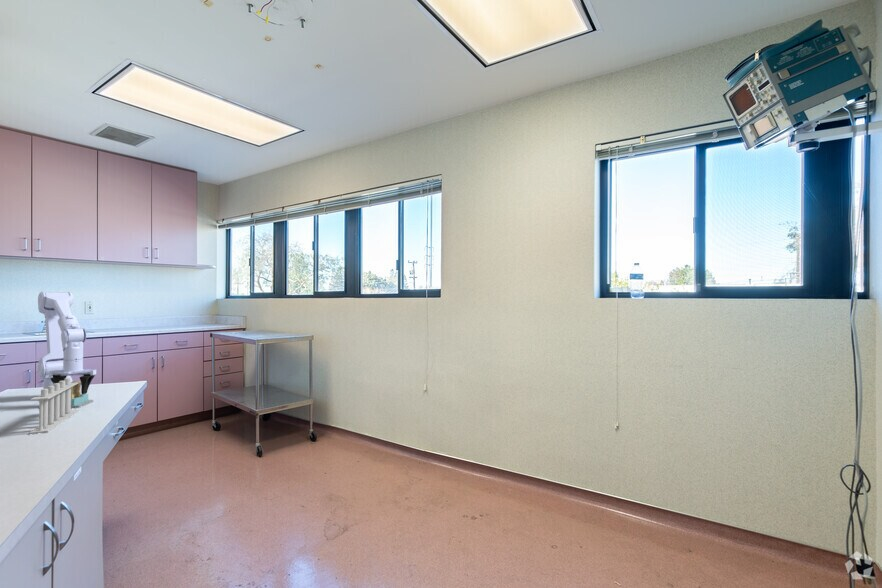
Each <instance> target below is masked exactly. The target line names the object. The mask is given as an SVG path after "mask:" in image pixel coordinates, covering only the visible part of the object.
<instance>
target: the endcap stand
mask: <svg viewBox="0 0 882 588" xmlns="http://www.w3.org/2000/svg"><path fill="white" fill-rule="evenodd" d="M93 402H94V399H89V393H86V394H82V393H81V394H80V396H79V397H76V398H73V399H71V409H79V408H82V407H84V406H86V404H87V405H89V404H92V403H93ZM81 406H82V407H81Z"/></svg>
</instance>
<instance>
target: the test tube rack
mask: <svg viewBox="0 0 882 588" xmlns="http://www.w3.org/2000/svg"><path fill="white" fill-rule="evenodd" d="M78 383H79V382H75V383H70V378H66V379H64V381H59V383H55V384H54V385H53V386H48V388H47V389H43V388H42V389H41V390H40V394H38V395H36V396H35V397H32V398H30V399H29V401H38V403H39V407H38V408H39V409H38V410H39V413H38V415H39V417H38V426H37V427H35V428H34V429H33V430H31V431H29V433H28V434H32V435H39V434H38V433H41V434H48V433H50V432H51V431H53V430H54V429H56V428H57V427H58V425H59V424H60V425H61V423H62V422H63V423H64V422H66V421H67V420H69V419H70V418H72V417H73V416H75V415H76V414H78V413H79V412H78V411H79V409H75V410H74V409H73V410H72V408H71V387H73V386H74V385H76V384H78ZM77 412H78V413H77ZM75 413H76V414H75ZM74 414H75V415H74ZM72 415H73V416H72ZM71 416H72V417H71ZM69 417H70V418H69ZM68 418H69V419H68ZM66 419H67V420H66ZM65 420H66V421H65ZM63 423H62V424H63ZM60 425H59V426H60ZM56 426H57V427H56ZM55 427H56V428H55ZM52 429H53V430H52ZM49 431H50V432H49Z"/></svg>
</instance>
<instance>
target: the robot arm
mask: <svg viewBox="0 0 882 588" xmlns="http://www.w3.org/2000/svg"><path fill="white" fill-rule="evenodd" d="M73 304H74V295H73V293H72V292H70V291H66V292H59V291H58V292H57V291H56V292H55V291H54V292H53V291H52V292H50V291H41V292H39V294H38V297H37V309H38V312H39V313H40V314H43V315H44V319H45V332H46V333H45V335H46V349H47V351H46V354H44V355H43V356H41V357H40V358H39V360H38V366H37V374H38V376H39V377H41V378H43V382H42V383H43V388H42V389H47V388H48V386H53V385H54V384H55V383H59V381H64V379H66V378H70V383H71V382H74V380H73V378H72V376H73V377H74V376H79V381H81V394H88V390H89V387H90V384H91V383H92V381H93V380H94V378H95V375H97V369H85V368H84V343H85V342H86V340H87V331H86V329H85V327H83V326H81V325H80V323H79V320H78V318H77V317H76V315H73V314H72V311H71V307H72V306H73Z"/></svg>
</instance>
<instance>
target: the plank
mask: <svg viewBox="0 0 882 588" xmlns="http://www.w3.org/2000/svg"><path fill="white" fill-rule="evenodd" d="M75 382H79V383H78V384H76V385H74V386H73V387H71V399H73V398H76V397H79V396H80V394H82V393H81V381H80V380H75V381H74V380H73V382H71V383H75Z"/></svg>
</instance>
